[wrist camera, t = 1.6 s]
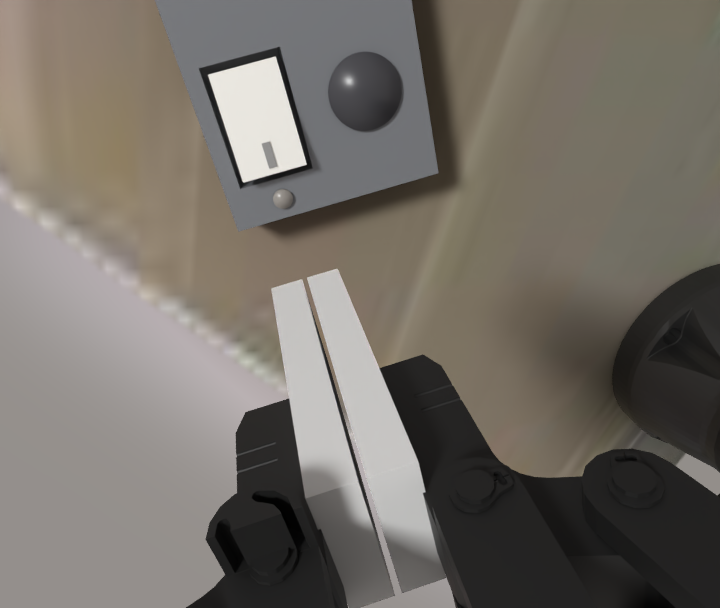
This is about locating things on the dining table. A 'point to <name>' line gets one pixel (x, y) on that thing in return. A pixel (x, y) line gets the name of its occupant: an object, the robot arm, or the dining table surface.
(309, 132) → the rocker switch box
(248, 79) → the rocker
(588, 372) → the dining table surface
